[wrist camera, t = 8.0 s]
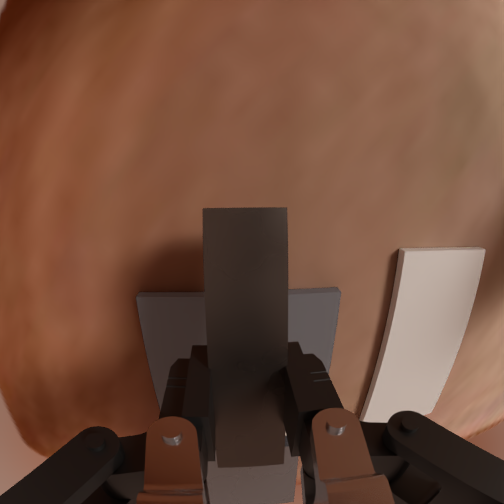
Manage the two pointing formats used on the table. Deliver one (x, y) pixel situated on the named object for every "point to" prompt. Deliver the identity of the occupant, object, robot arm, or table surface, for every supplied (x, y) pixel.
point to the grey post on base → (248, 353)
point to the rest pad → (423, 329)
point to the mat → (194, 326)
